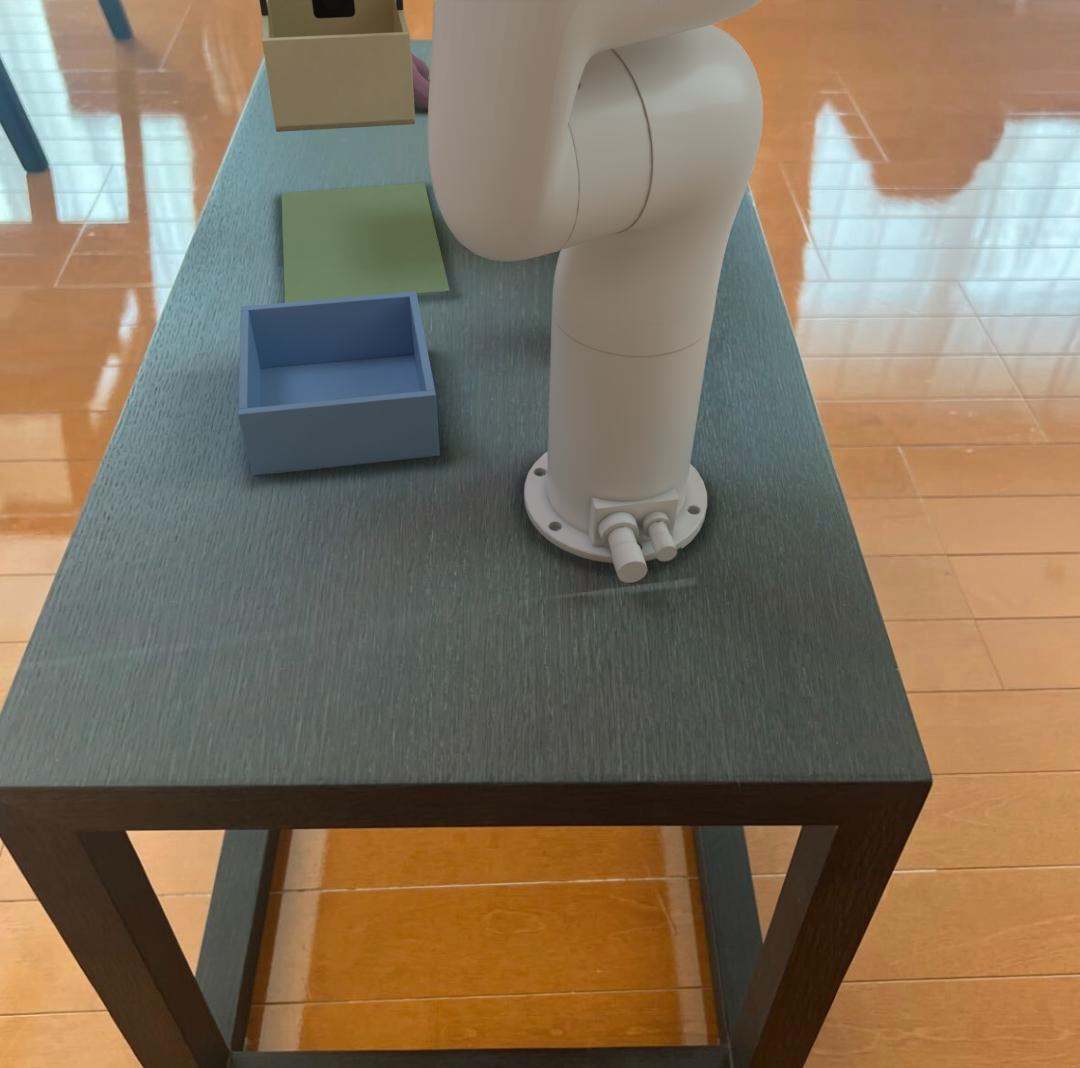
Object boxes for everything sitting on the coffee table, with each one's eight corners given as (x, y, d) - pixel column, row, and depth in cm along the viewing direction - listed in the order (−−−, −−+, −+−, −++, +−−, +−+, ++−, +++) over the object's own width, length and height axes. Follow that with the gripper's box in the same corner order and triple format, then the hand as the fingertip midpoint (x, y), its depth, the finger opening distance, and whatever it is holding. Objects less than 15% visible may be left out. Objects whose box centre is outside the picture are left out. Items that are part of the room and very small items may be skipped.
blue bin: (440, 461, 77) (436, 394, 73) (253, 481, 75) (238, 414, 71) (421, 355, 86) (416, 291, 82) (254, 371, 85) (240, 306, 80)
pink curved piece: (398, 94, 126) (366, 42, 121) (431, 73, 126) (400, 19, 121) (416, 129, 120) (384, 75, 115) (451, 107, 119) (420, 52, 114)
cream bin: (415, 124, 86) (406, -19, 79) (275, 132, 84) (253, -13, 77) (402, 70, 94) (393, -65, 86) (274, 76, 92) (254, -61, 85)
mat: (450, 296, 93) (449, 290, 92) (285, 310, 91) (284, 304, 90) (425, 188, 107) (424, 182, 106) (282, 198, 105) (281, 192, 104)
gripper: (245, -299, 76) (283, -21, 89) (243, -258, 65) (287, 52, 78) (351, -299, 77) (374, -24, 90) (367, -259, 66) (390, 46, 79)
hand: (333, 9), depth 84 cm, fingers closed on cream bin, 1 cm apart
